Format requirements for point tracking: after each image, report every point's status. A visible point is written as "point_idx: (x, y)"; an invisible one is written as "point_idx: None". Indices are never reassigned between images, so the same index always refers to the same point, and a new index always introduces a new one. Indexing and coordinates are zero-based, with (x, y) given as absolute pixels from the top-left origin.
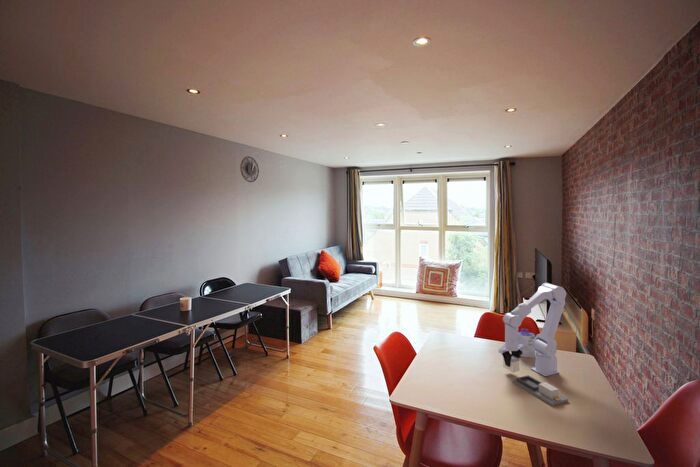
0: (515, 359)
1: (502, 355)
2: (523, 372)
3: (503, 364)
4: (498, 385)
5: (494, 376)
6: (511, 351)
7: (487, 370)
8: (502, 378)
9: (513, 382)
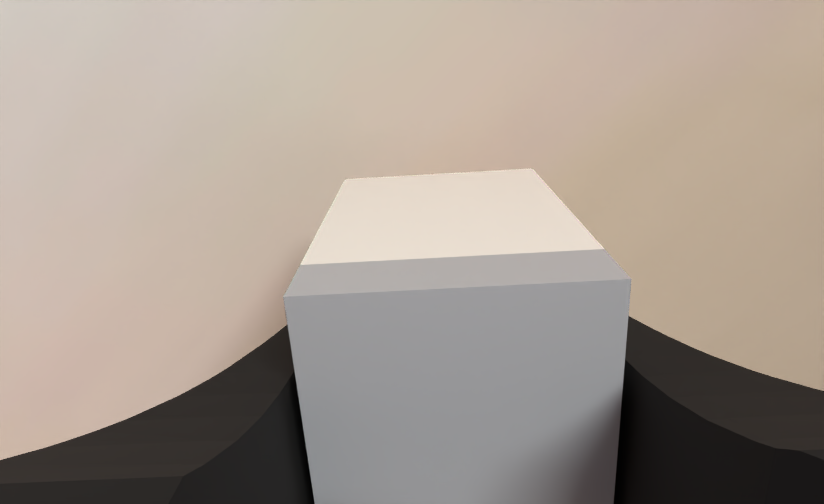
0: None
1: (130, 423)
2: (688, 284)
3: (339, 201)
4: (8, 456)
5: (91, 242)
6: (705, 446)
7: (80, 6)
8: (189, 330)
9: None
